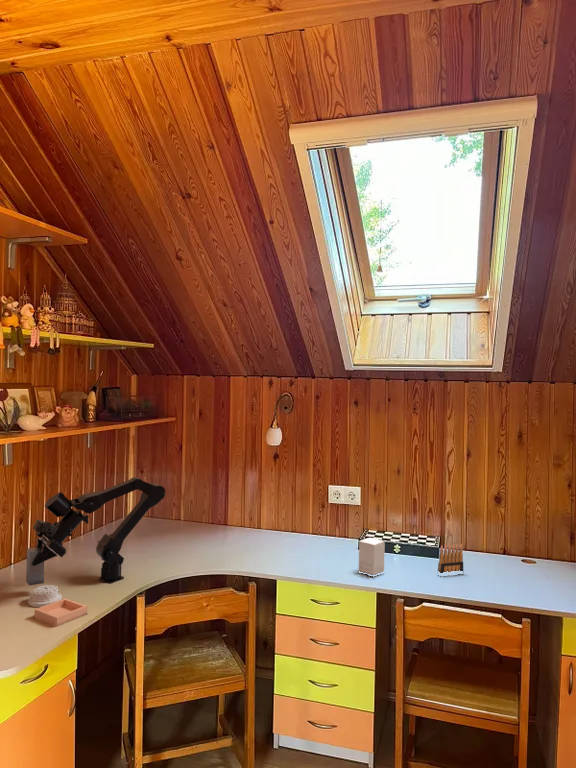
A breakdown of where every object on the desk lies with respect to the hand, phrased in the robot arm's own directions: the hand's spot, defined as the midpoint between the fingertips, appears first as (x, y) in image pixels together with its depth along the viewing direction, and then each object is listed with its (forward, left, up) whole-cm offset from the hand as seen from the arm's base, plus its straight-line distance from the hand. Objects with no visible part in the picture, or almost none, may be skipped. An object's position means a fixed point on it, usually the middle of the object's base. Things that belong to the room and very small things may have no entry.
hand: (30, 563), depth 184 cm
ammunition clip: (-105, +110, -11) cm, 153 cm away
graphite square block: (-1, +1, -7) cm, 7 cm away
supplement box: (-88, +84, -11) cm, 122 cm away
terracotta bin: (+5, +23, -10) cm, 25 cm away
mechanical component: (0, +9, -11) cm, 14 cm away
